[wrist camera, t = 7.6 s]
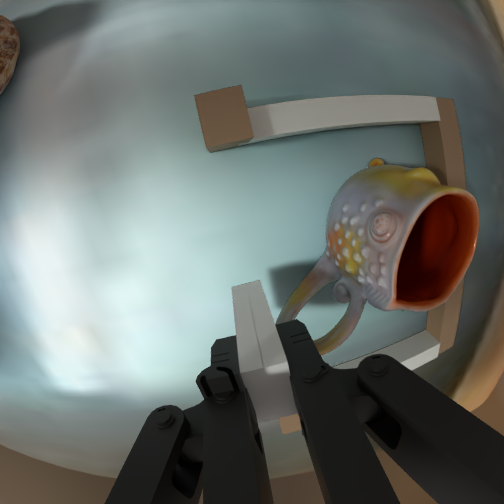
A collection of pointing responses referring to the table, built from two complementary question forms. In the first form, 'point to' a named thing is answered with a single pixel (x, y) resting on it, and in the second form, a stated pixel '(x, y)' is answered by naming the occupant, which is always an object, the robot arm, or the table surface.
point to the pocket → (346, 116)
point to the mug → (390, 246)
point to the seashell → (8, 51)
